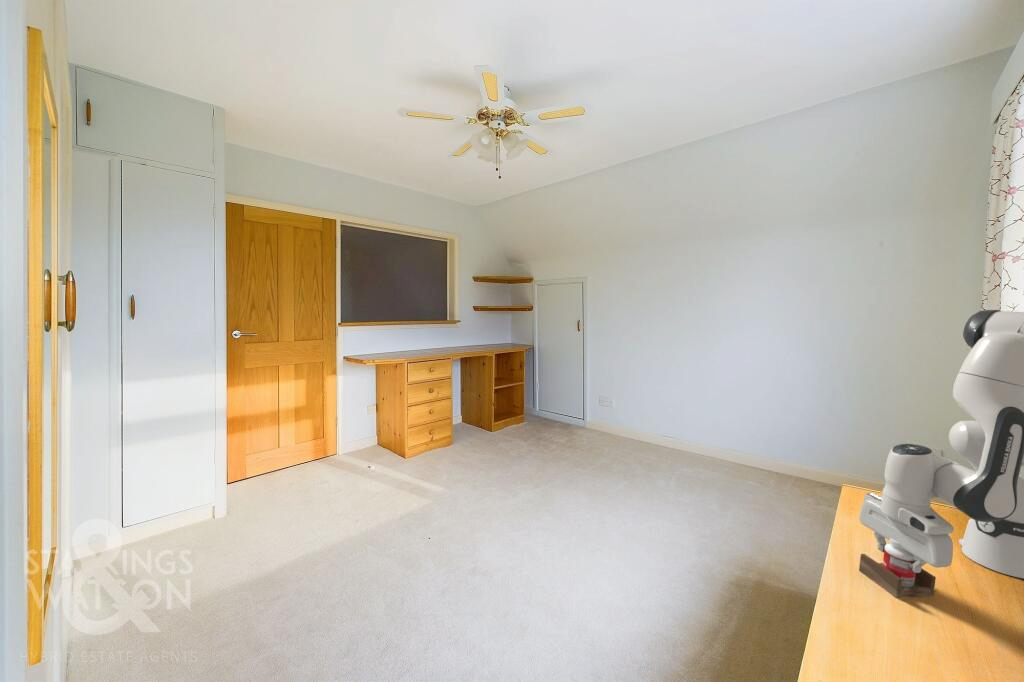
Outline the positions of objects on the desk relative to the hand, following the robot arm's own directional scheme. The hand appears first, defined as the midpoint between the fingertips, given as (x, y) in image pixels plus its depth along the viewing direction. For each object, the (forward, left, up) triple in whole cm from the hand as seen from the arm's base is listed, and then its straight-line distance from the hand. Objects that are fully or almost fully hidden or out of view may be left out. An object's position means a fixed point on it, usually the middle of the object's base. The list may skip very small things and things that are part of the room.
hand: (898, 560), depth 107 cm
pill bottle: (0, 0, -6) cm, 6 cm away
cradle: (0, 0, -6) cm, 6 cm away
